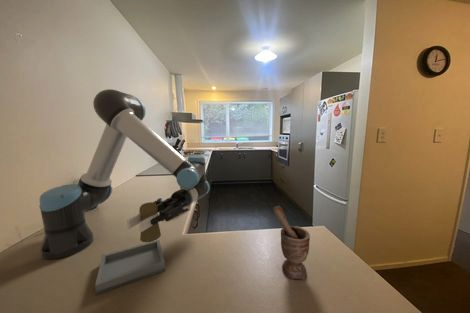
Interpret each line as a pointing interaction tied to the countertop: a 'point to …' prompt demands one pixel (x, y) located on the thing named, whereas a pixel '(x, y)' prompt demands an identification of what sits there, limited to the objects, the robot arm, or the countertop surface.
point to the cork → (154, 230)
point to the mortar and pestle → (293, 246)
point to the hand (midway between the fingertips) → (134, 225)
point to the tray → (129, 266)
